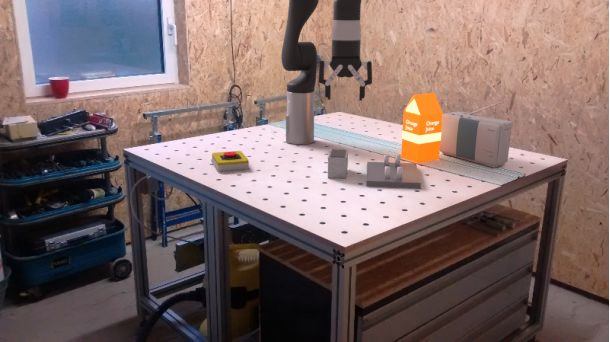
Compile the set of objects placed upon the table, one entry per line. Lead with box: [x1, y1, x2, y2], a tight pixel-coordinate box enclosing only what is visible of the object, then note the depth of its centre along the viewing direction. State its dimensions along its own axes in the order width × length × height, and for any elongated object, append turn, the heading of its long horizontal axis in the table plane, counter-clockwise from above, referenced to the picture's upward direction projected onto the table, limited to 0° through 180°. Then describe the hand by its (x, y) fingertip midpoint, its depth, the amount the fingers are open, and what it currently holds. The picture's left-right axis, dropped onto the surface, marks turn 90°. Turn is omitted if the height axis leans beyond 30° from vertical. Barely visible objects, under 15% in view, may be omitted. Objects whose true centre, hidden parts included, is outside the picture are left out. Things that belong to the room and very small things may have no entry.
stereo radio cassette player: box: [440, 97, 514, 169], centre depth 167 cm, size 21×8×20 cm, turn 37°
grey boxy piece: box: [327, 148, 349, 180], centre depth 154 cm, size 5×9×6 cm, turn 173°
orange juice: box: [400, 92, 444, 164], centre depth 168 cm, size 8×9×20 cm
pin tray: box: [365, 154, 422, 189], centre depth 152 cm, size 14×18×4 cm
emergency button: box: [210, 150, 251, 175], centre depth 162 cm, size 9×4×15 cm
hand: (344, 99), depth 150 cm, fingers open, 8 cm apart
